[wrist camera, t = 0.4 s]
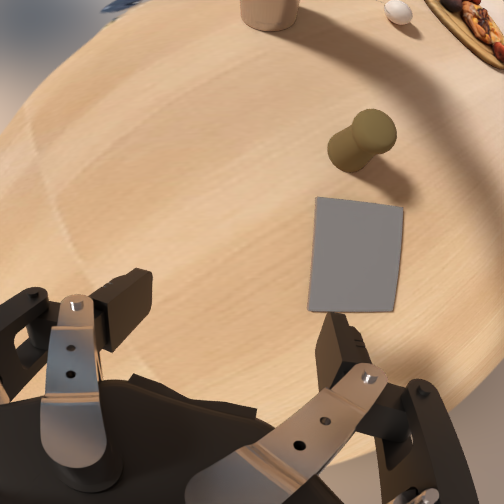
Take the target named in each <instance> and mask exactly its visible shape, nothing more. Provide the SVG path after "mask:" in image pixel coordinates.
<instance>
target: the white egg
mask: <svg viewBox="0 0 504 504" xmlns="http://www.w3.org/2000/svg"><path fill="white" fill-rule="evenodd" d="M377 1H378V0H377ZM382 3H383V2H382ZM384 12H385V15H386V16H387V18H388V19H389V20H390V21H392V22H393V23H396V24H399V25H404V24H408V23H409V22H410V21H411V19H412V11H411V9H410V7H409V6H408V5H407V4H405V3H404V2H402V1H400V0H391V1H388V2H387V3H386V4H385V7H384Z"/></svg>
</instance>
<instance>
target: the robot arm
mask: <svg viewBox="0 0 504 504" xmlns="http://www.w3.org/2000/svg"><path fill="white" fill-rule="evenodd" d="M299 3H300V0H240V9H241V18H242V20H243V21H244V22H245V23H246V24H247V25H249V26H250V27H252V28H255V29H258V30H262V31H280V30H283V29H286V28H288V27H290V26H291V25H293V24H294V22H295V20H296V16H297V12H298V7H299ZM152 280H153V276H152V272H150V271H147V270H143V269H139V268H135V269H133V270H132V271H130V272H129V273H128V274H126V275H122V276H119V277H116V278H114V279H112V280H111V281H110V282H109V283H107V284H105V285H104V286H103V287H101V288H99V289H98V290H96V291H95V292H93V293H92V294H91V295H89V296H86V295H80V294H76V295H70V296H67V297H65V298H64V299H63V300H62V301H61V303H58V302H52V301H49V300H48V293H47V291H46V290H45V289H43V288H40V287H31V288H27V289H25V290H23V291H21V292H20V293H18V294H17V295H15V296H14V297H12V298H10V299H9V300H7V301H6V302H4V303H3V304H1V305H0V504H344V503H343V502H342V501H341V500H340V499H339V498H338V497H337V496H336V495H335V494H334V492H333V491H331V489H330V488H329V487H328V486H327V485H326V484H325V483H324V482H323V481H322V480H321V478H320V477H319V476H318V475H319V474H320V473H321V472H322V471H323V470H324V469H325V468H326V466H327V465H328V464H329V463H330V462H331V461H332V460H333V458H334V457H335V456H336V455H337V454H338V453H339V451H340V450H341V449H342V448H343V447H344V446H345V444H346V443H347V442H348V441H349V439H350V438H351V437H352V436H353V434H354V433H355V432H360V433H363V434H367V435H370V436H374V439H375V445H376V452H377V459H378V468H379V476H380V485H381V497H382V504H479V501H478V498H477V493H476V490H475V486H474V483H473V480H472V477H471V473H470V470H469V467H468V464H467V461H466V459H465V456H464V453H463V450H462V447H461V445H460V442H459V439H458V437H457V434H456V432H455V429H454V427H453V424H452V422H451V420H450V417H449V415H448V412H447V410H446V408H445V406H444V403H443V401H442V399H441V397H440V395H439V392H438V390H437V389H436V388H435V386H434V385H432V384H431V383H430V382H428V381H425V380H422V379H413V380H411V381H410V382H409V383H408V385H407V386H406V388H404V387H401V386H397V385H394V384H391V383H388V377H387V375H386V373H385V372H384V371H383V370H382V369H381V368H379V367H377V366H375V365H373V364H372V363H371V360H370V357H369V354H368V352H367V349H366V348H365V347H366V346H365V344H364V342H363V339H362V336H361V334H360V333H359V332H358V330H357V329H356V328H355V327H353V326H349V324H348V321H347V318H346V315H345V314H341V313H335V312H328V313H327V315H326V317H325V320H324V323H323V326H322V329H321V332H320V335H319V338H318V340H317V344H316V349H315V357H316V366H317V376H318V387H319V393H318V394H317V395H316V396H315V397H314V398H312V399H311V400H310V401H309V402H308V403H306V404H305V405H304V406H303V407H302V408H300V409H299V410H298V411H297V412H296V413H294V414H293V415H292V416H291V417H289V418H288V419H287V420H286V421H284V422H283V423H282V424H280V425H279V426H278V427H276V428H274V427H273V426H271V425H270V424H268V423H266V422H264V421H262V420H260V419H258V418H256V413H257V409H256V408H251V407H246V406H241V405H237V404H232V403H228V402H220V401H205V400H193V399H189V398H187V397H185V396H183V395H181V394H179V393H177V392H175V391H174V390H172V389H170V388H168V387H166V386H165V385H163V384H161V383H158V382H156V381H153V380H150V379H147V378H144V377H142V376H139V375H136V374H134V373H133V375H132V376H131V377H130V379H129V380H128V381H126V380H104V379H103V372H102V365H101V357H100V351H101V349H104V350H107V351H109V352H111V353H113V352H114V351H115V349H116V348H117V347H118V346H119V345H120V344H121V343H122V342H123V341H124V340H125V339H126V337H127V336H128V335H129V334H130V333H131V332H132V331H133V330H134V329H135V328H136V327H137V326H138V324H139V323H140V322H141V321H142V320H143V319H144V318H145V317H146V316H147V315H148V313H149V312H150V309H151V305H152ZM25 326H26V328H27V332H28V335H29V338H28V339H27V340H26V341H25V342H23V343H22V344H21V345H20V346H19V347H18V348H17V349H15V346H14V338H15V335H16V334H17V333H18V332H19V331H20V330H22V329H23V328H24V327H25ZM46 363H47V369H46V384H45V395H44V396H40V397H35V398H31V399H26V400H21V401H16V402H11V401H12V400H13V399H14V397H15V396H16V395H17V394H18V393H19V392H20V391H21V390H22V389H23V387H24V386H25V385H26V384H27V383H28V382H29V381H30V380H31V379H32V378H33V377H34V376H35V375H36V374H37V372H38V371H39V370H40V369H41V368H42V367H43V366H44V365H45V364H46ZM10 402H11V403H10ZM411 434H412V437H413V444H412V440H411V437H410V435H411Z"/></svg>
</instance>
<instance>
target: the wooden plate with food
mask: <svg viewBox="0 0 504 504" xmlns="http://www.w3.org/2000/svg"><path fill="white" fill-rule="evenodd" d="M424 1H425V2H426V4H427V5H428V7H429V8H430V9H431V10H432V12H433V13H434V14H435V15H436V16H437V18H438V19H439V20H440V21H441V22H442V23H443V24H444V25H445V26H446V28H447V29H448V30H449V31H450V32H451V33H452V34H453V35H455V36H456V37H457V38H458V39H459V40H460V41H461V42H462V43H463V44H464V45H465V46H466V47H467V48H468V49H470V50H471V51H472V52H473V53H474V54H475V55H477V56H478V57H479V58H481V59H482V60H483V61H485V62H486V63H488V64H490V65H491V66H493V67H496V68H499V69H504V36H503V34H502V32H501V31H500V29H499V28H498V26H497V25H496V24H495V22H494V21H493V20H492V18H491V17H490V16H489V15H488V12H487V10H486V9H485V8H482V7H481V6H480V5H479V4H480V3H481V0H424Z"/></svg>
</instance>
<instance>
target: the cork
mask: <svg viewBox="0 0 504 504" xmlns="http://www.w3.org/2000/svg"><path fill="white" fill-rule="evenodd" d="M396 138H397V131H396V127H395V124H394V123H393V121H392V119H391V118H390V117H389V116H388V115H387V114H385V113H384V112H382V111H380V110H376V109H366V110H364V111H361V112H360V113H359V114H358V115H357V116H356V117H355V118H354V120H353V123H352V125H351V126H349V127H347V128H346V129H344V130H342V131H340V132H338V133H337V134H335V135H334V136H333V137H332V138H331V139H330V141H329V143H328V155H329V158H330V160H331V161H332V163H333V164H334V165H335V166H336V167H337V168H338V169H340V170H342V171H344V172H349V173H351V172H357V171H359V170H360V169H362V168H363V167H364V166H365V165H366V164H367V163H368V162H369V161H370V160H371V159H372V158H373V156H374V155H375V154H376V155H377V154H383V153H385V152H387V151H389V150H390V149H391V148H392V147H393V146H394V144H395V142H396Z"/></svg>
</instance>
